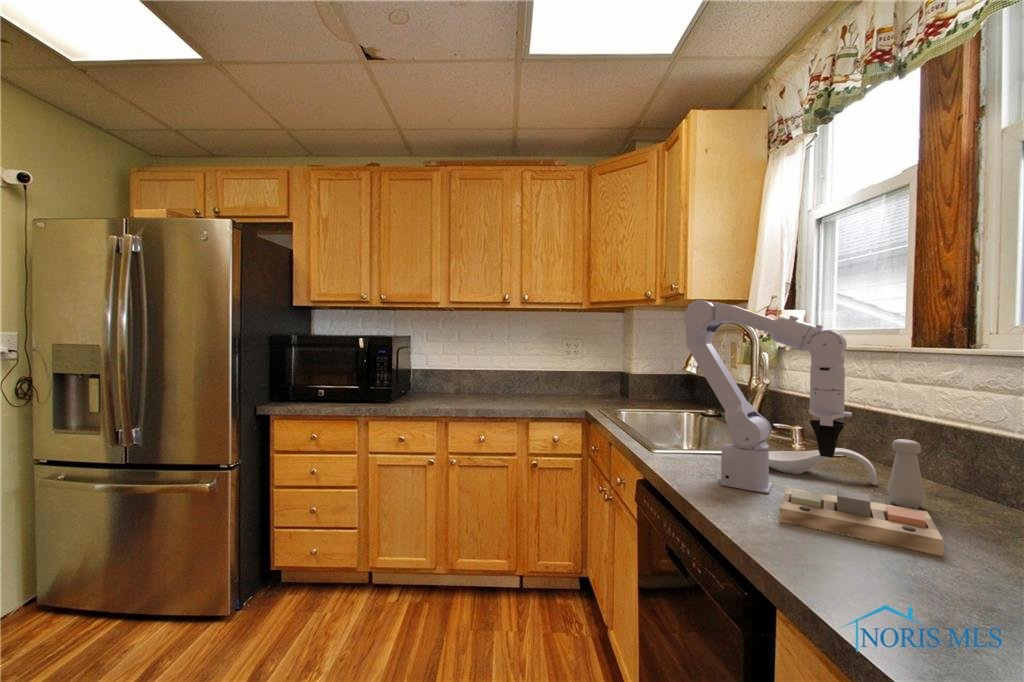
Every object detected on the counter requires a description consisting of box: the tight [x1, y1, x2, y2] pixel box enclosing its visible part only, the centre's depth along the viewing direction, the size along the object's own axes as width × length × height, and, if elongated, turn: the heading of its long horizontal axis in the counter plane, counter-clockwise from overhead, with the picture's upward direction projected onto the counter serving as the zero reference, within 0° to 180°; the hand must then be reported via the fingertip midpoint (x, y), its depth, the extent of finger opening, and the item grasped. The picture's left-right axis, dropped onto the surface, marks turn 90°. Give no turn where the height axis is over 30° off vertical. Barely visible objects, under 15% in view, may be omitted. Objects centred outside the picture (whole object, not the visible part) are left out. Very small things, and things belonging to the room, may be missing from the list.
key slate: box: [836, 488, 871, 517], centre depth 79 cm, size 5×5×3 cm
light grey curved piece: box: [769, 447, 879, 486], centre depth 109 cm, size 24×12×7 cm, turn 54°
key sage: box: [791, 490, 821, 508], centre depth 83 cm, size 5×5×3 cm
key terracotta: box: [886, 506, 926, 528], centre depth 75 cm, size 5×5×3 cm
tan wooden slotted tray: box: [779, 486, 944, 557], centre depth 79 cm, size 21×14×3 cm, turn 54°
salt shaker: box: [886, 438, 927, 510], centre depth 88 cm, size 6×6×13 cm
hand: (826, 456), depth 90 cm, fingers closed
